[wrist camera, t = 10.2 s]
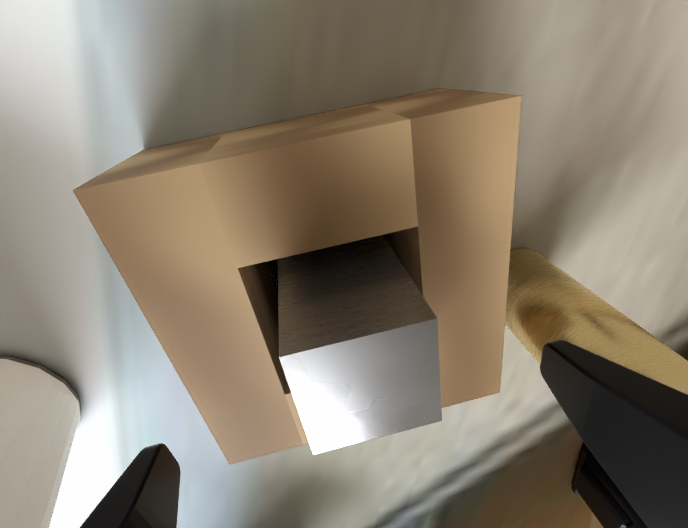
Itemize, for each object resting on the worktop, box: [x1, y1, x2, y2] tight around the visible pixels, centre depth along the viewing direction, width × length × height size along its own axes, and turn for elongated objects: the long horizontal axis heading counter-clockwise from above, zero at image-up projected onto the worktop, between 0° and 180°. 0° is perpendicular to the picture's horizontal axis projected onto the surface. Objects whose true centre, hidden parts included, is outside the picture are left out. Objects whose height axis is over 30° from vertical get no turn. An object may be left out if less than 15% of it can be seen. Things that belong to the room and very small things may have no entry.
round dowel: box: [505, 248, 688, 394], centre depth 15 cm, size 4×4×8 cm
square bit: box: [278, 235, 442, 455], centre depth 12 cm, size 4×4×8 cm
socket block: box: [73, 88, 521, 464], centre depth 13 cm, size 11×11×5 cm
